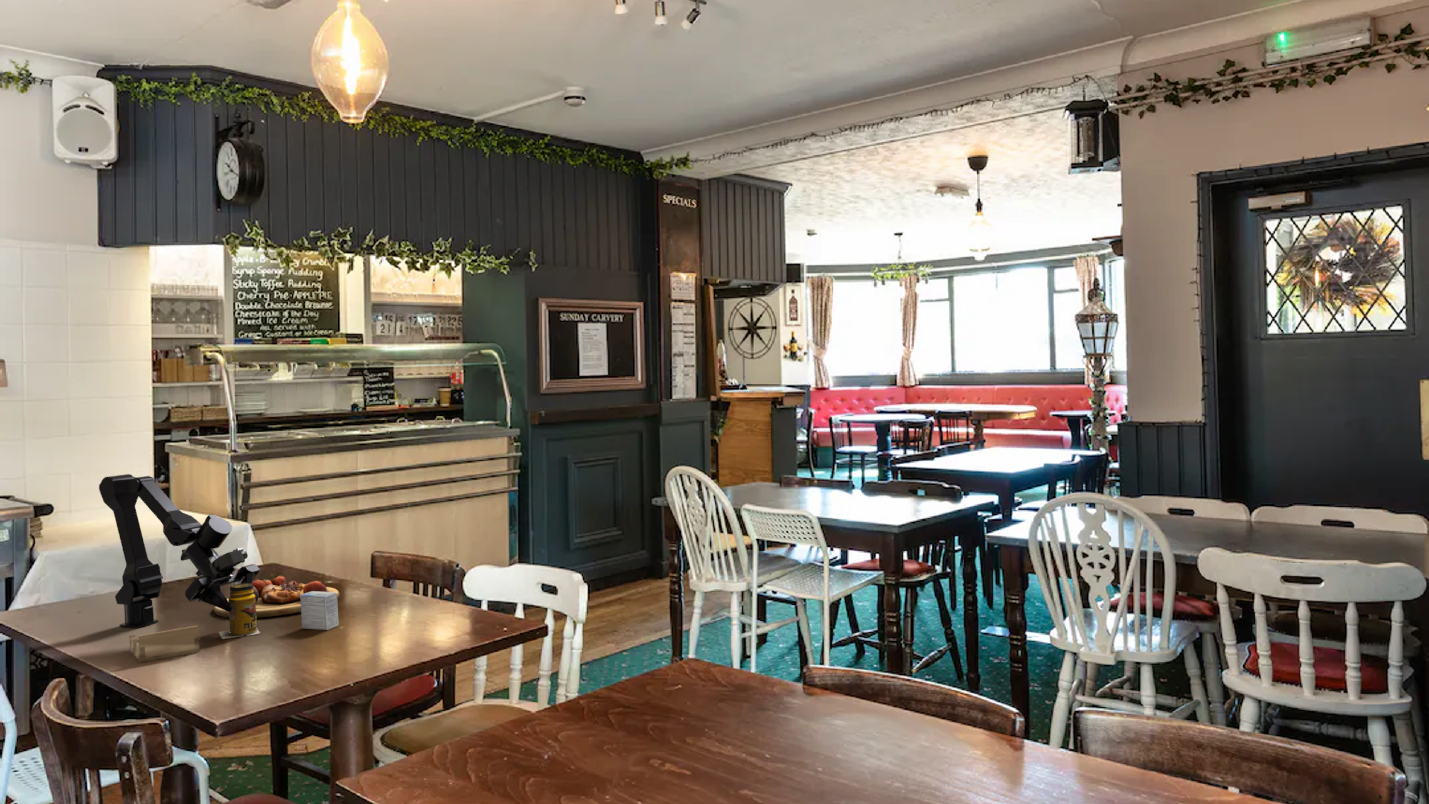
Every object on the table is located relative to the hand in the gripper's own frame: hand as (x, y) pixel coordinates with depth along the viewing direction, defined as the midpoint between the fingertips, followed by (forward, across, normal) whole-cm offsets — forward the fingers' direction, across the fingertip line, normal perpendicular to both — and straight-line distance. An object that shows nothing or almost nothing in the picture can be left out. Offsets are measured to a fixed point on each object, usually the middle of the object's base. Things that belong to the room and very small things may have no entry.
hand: (243, 607), depth 242 cm
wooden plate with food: (-6, +27, +16) cm, 32 cm away
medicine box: (+15, +10, -5) cm, 19 cm away
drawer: (0, -17, +9) cm, 19 cm away
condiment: (+4, 0, +6) cm, 7 cm away
